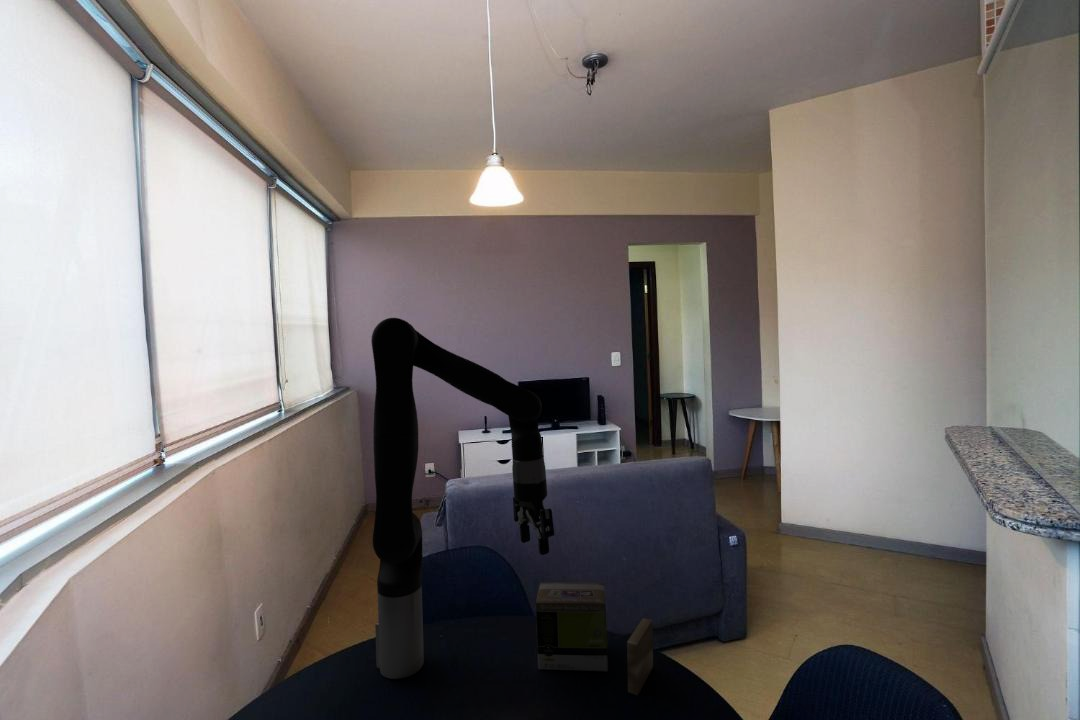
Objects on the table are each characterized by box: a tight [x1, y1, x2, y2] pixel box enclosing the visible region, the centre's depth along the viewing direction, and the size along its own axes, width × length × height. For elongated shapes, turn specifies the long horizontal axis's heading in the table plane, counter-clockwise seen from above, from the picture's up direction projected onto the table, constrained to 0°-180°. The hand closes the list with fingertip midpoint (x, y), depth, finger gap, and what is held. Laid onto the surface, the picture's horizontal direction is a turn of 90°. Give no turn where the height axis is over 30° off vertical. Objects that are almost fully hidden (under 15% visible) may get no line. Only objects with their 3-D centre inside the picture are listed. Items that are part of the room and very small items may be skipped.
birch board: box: [626, 618, 654, 696], centre depth 102 cm, size 2×10×10 cm, turn 150°
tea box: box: [535, 581, 609, 672], centre depth 110 cm, size 15×10×15 cm, turn 84°
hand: (534, 547), depth 114 cm, fingers open, 8 cm apart
